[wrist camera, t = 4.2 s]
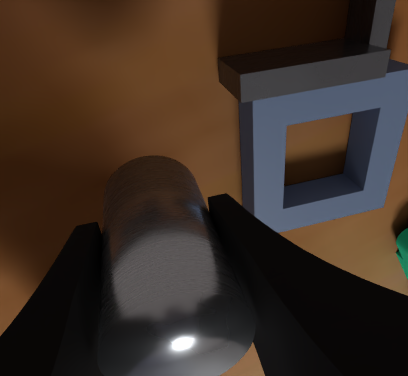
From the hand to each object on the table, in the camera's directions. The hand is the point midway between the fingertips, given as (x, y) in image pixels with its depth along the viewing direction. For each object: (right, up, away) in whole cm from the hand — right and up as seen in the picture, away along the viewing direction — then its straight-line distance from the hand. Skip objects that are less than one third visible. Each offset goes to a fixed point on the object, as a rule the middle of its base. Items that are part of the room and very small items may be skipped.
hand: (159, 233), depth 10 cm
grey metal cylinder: (0, +1, +2) cm, 2 cm away
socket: (+8, +4, +10) cm, 14 cm away
